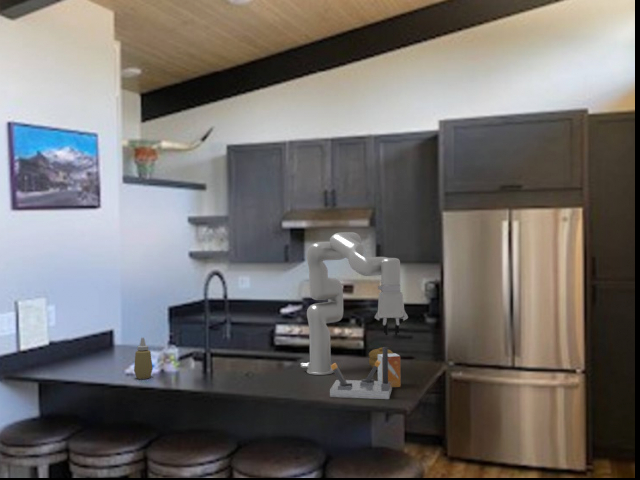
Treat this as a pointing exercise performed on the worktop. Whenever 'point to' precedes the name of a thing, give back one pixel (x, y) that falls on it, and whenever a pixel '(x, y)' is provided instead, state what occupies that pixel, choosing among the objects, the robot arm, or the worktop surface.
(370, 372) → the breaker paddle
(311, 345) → the robot arm
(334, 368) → the orange tipped lever
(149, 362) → the squeeze bottle
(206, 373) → the worktop surface
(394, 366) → the small box
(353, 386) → the panel
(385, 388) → the post
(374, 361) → the pot
